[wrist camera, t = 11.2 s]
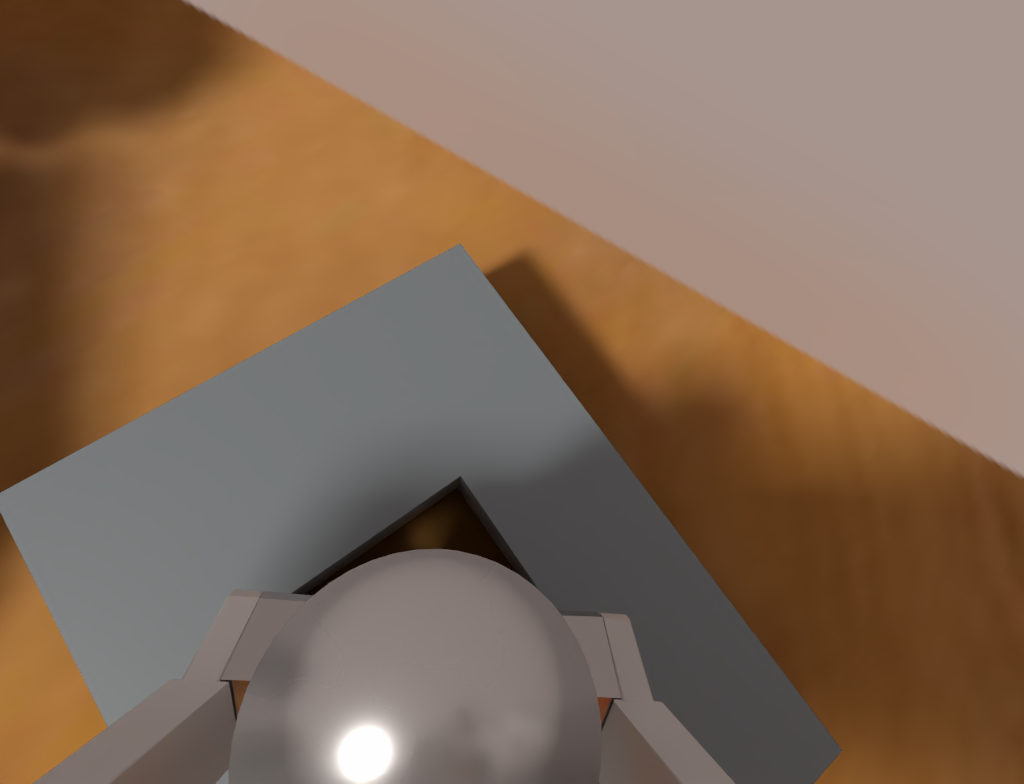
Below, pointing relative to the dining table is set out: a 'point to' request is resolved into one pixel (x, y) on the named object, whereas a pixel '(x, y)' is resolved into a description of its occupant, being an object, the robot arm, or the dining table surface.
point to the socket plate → (389, 509)
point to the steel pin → (421, 683)
